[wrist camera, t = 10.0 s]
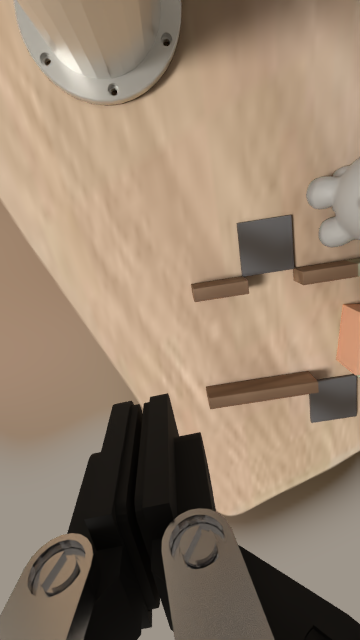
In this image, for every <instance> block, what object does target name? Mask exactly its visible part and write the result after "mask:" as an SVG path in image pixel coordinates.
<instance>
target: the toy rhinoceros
mask: <svg viewBox="0 0 360 640" xmlns="http://www.w3.org/2000/svg"><path fill="white" fill-rule="evenodd" d="M306 196H307V201H308V203H309V204H310V206H311V207H313V208H315V209H325V208H328V207H331V206H333V207H332V210H333V211H334V212H335V214H336V216H335V217H332V218H328V219H326V220H325V221H324V222H323V223H322V224H321V226H320V228H319V239H320V241H321V243H322V244H324V245H325V246H328V247H338V246H342V245H344V244H346V243H348V242H350V241H352V240H354V239H358V240H360V157H359V158H358V159H357V160H355V161H354V162H353V163H352V164H351V165H350V166H344V167H341V168H339V169H337V170H336V171H335V173H334V174H333V176H323V177H319V178H316V179H314V180H313V181H312V182H311V183H310V184H309V186H308V189H307V194H306Z"/></svg>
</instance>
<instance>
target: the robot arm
mask: <svg viewBox="0 0 360 640" xmlns="http://www.w3.org/2000/svg"><path fill="white" fill-rule="evenodd" d="M13 2H14V8H15V15H16V21H17V24H18V27H19V30H20V33H21V36H22V39H23V41H24V43H25V45H26V47H27V49H28V51H29V53H30V55H31V57H32V58H33V60H34V61H35V62H36V64H37V65H38V66H39V68H40V69H41V71H42V72H43V73H44V74H45V75H46V76H47V77H48V78H49V79H50V81H52V82H53V83H54V84H55V85H56V86H58V87H59V88H60V89H61V90H62V91H64V92H65V93H67V94H69V95H71V96H73V97H74V98H76V99H79V100H82V101H85V102H88V103H91V104H99V105H114V104H121V103H124V102H127V101H130V100H133V99H135V98H137V97H139V96H140V95H142V94H144V93H145V92H147V91H148V90H149V89H150V88H151V87H152V86H153V85H154V84H155V83H157V82H158V80H159V79H160V78H161V76H162V75H163V74H164V72H165V71H166V69H167V68H168V66H169V64H170V62H171V60H172V57H173V55H174V53H175V50H176V46H177V43H178V39H179V34H180V26H181V4H182V3H181V0H13ZM164 42H168V43H169V44H170V45H169V46H164V45H163V44H164ZM47 61H51V63H50V65H48V66H47V65H46V63H47ZM114 90H116V91H117V95H115V96H113V95H112V91H114ZM160 598H161V601H162V604H163V607H164V610H165V613H166V617H167V620H168V623H169V626H170V629H171V630H172V631H173V632H174V637H175V640H360V624H359V623H358V622H357V621H355V620H354V619H353V618H352V617H350V616H349V615H348V614H346V613H345V612H343V611H341V610H340V609H338V608H337V607H335V606H334V605H332V604H331V603H329V602H328V601H326V600H324V599H323V598H321V597H319V596H318V595H316V594H315V593H313V592H312V591H310V590H309V589H307V588H305V587H304V586H302V585H301V584H299V583H297V582H296V581H294V580H293V579H291V578H290V577H288V576H287V575H285V574H283V573H282V572H280V571H279V570H277V569H276V568H274V567H272V566H271V565H269V564H268V563H266V562H265V561H263V560H261V559H260V558H258V557H257V556H255V555H254V554H252V553H250V552H249V551H247V550H245V549H244V548H243V547H241V546H239V545H238V544H237V541H236V538H235V536H234V533H233V531H232V528H231V527H230V525H229V523H228V522H227V520H226V519H225V518H224V517H223V516H222V515H221V514H219V513H218V512H216V509H215V503H214V497H213V491H212V485H211V480H210V474H209V469H208V464H207V459H206V454H205V450H204V445H203V441H202V436H201V433H200V432H199V433H194V434H189V435H184V436H179V434H178V430H177V426H176V422H175V418H174V414H173V410H172V406H171V402H170V398H169V395H168V394H163V395H158V396H153V397H150V402H148V403H144V407H143V413H142V410H141V407H140V405H139V404H138V405H134V404H133V402H132V401H128V402H123V403H118V404H114V405H113V407H112V411H111V415H110V419H109V423H108V427H107V431H106V435H105V439H104V443H103V447H102V450H101V452H99V453H94V454H92V455H91V456H90V458H89V461H88V465H87V468H86V471H85V475H84V478H83V482H82V485H81V488H80V492H79V495H78V499H77V502H76V506H75V509H74V513H73V516H72V519H71V523H70V526H69V530H68V533H67V534H65V535H61V536H59V537H56V538H54V539H52V540H50V541H49V542H47V543H46V544H45V545H43V546H42V547H41V548H40V549H39V550H38V551H37V552H36V553H35V554H34V555H33V556H32V557H31V559H30V560H29V562H28V563H27V565H26V566H25V568H24V570H23V572H22V574H21V576H20V578H19V580H18V582H17V584H16V585H15V588H14V589H13V592H12V593H11V595H10V597H9V599H8V601H7V603H6V605H5V607H4V609H3V611H2V613H1V615H0V640H137V639H138V638H139V636H140V635H141V629H144V628H150V627H152V609H155V608H159V605H160Z"/></svg>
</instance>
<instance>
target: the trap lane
mask: <svg viewBox="0 0 360 640" xmlns="http://www.w3.org/2000/svg"><path fill="white" fill-rule="evenodd" d="M237 231H238V241H239V251H240V261H241V271H242V276H241V277H234V278H228V279H221V280H215V281H209V282H202V283H196V284H191V287H192V293H193V298H194V301H195V302H199V301H205V300H212V299H218V298H224V297H231V296H237V295H244V294H249V287H248V280H246V279H245V278H244V276H251V275H257V274H264V273H270V272H276V271H283V270H289V269H293V276H294V281H296V282H298V283H300V284H302V285H307V284H314V283H320V282H327V281H333V280H339V279H346V278H352V277H359V276H360V258H355V259H349V260H343V261H336V262H330V263H323V264H317V265H311V266H304V267H298V268H294V257H293V239H292V221H291V215H287V216H280V217H274V218H268V219H261V220H255V221H249V222H242V223H237ZM357 376H358V377H359V378H360V375H357ZM206 391H207V397H208V402H209V406H210V409H215V408H221V407H228V406H234V405H241V404H247V403H254V402H260V401H267V400H273V399H280V398H286V397H293V396H299V395H306V394H309V398H310V419H311V423H314V422H321V421H327V420H334V419H340V418H347V417H353V416H357V401H356V375H354V374H352V375H346V376H339V377H333V378H326V379H320V380H316V379H315V378H314V377H313V376H312V375H311V374H310V372H309V371H305V372H299V373H292V374H286V375H280V376H273V377H267V378H260V379H254V380H247V381H241V382H234V383H228V384H221V385H215V386H208V387H206Z"/></svg>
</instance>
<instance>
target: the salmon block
mask: <svg viewBox="0 0 360 640" xmlns="http://www.w3.org/2000/svg"><path fill="white" fill-rule="evenodd" d="M336 360H337V361H339V362H340V363H341V364H342V365H343V366H345V367H346V368H347V369H348V370H349V371H351V372H352V373H353V374H354V375H360V304H343V308H342V316H341V324H340V332H339V341H338V349H337V357H336Z"/></svg>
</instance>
